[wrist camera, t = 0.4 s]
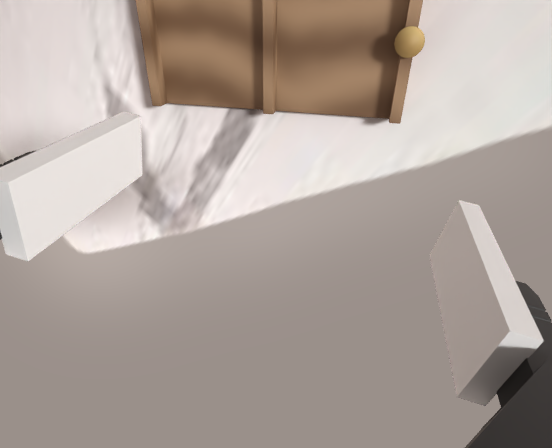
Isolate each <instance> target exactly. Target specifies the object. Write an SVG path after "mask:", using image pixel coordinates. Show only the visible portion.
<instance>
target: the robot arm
mask: <svg viewBox="0 0 552 448" xmlns="http://www.w3.org/2000/svg"><path fill="white" fill-rule="evenodd" d="M140 176H142V141H141V116H139V115H135V114H132V113H128V112H122V113H119V114H117V115H115V116H113V117H111V118H108V119H106V120H104V121H102V122H99V123H97V124H95V125H93V126H91V127H88V128H86V129H84V130H82V131H80V132H77V133H75V134H73V135H71V136H69V137H66V138H64V139H62V140H60V141H57V142H55V143H53V144H51V145H49V146H46V147H44V148H42V149H40V150H37V151H32V152H28V153H25V154H23V155H21V156H19V157H16V158H14V160H10V161H7V162H5V163H4V164H3V165H2V164H1V165H0V239H2V242H3V246H4V249H5V252H6V254H7V255H10V256H13V257H16V258H19V259H23V260H25V261H29V260H30V259H32V258H33V257H34V256H36V255H37V254H38V253H40V252H41V251H42V250H44V249H45V248H46V247H48V246H49V245H50V244H52V243H53V242H54V241H56V240H57V239H58V238H60V237H61V236H62V235H64V234H65V233H66V232H68V231H69V230H70V229H72V228H73V227H74V226H76V225H77V224H78V223H79V222H81V221H82V220H83V219H85V218H86V217H87V216H89V215H90V214H91V213H93V212H94V211H95V210H97V209H98V208H99V207H101V206H102V205H103V204H105V203H106V202H107V201H109V200H110V199H111V198H113V197H114V196H115V195H117V194H118V193H119V192H120V191H122V190H123V189H124V188H126V187H127V186H128V185H130V184H131V183H132V182H134V181H135V180H136V179H138V178H139V177H140ZM430 261H431V267H432V272H433V276H434V282H435V287H436V292H437V298H438V302H439V308H440V313H441V318H442V323H443V328H444V333H445V339H446V344H447V348H448V354H449V359H450V364H451V369H452V374H453V380H454V385H455V390H456V395H457V397H458V398H461V399H464V400H468V401H471V402H474V403H477V404H480V405H484V406H486V405H487V404H488V402H490V400H491V399H492V398H493V397H494V396H495V395H496V394H497V395H498V398H499V402H500V405H501V408H500V410H499V411H498V412H497V413H496V414H495V415H494V416H493V417H492V418H491V419H490V420H489V421H488V422H487V423H486V424H485V425H484V426H483V428H482V429H481V430H480V431H479V433H478V434H477V435H476V436H475V437H474V438H473V439H472V440H471V441H470V443H469V444H468V445H467V446H466V447H465V448H552V323H551V319H550V317H549V315H548V313H547V312H545V310H546V309H545V307H544V306H543V304H542V302H541V300H540V298H539V297H538V295H537V294H536V293H535V292H534V291H533V290H532V289H531V288H530V287H529V286H528V285H527V284H525V283H521V282H518V281H515V279H514V277H513V276H512V273H511V271H510V269H509V267H508V265H507V263H506V261H505V259H504V257H503V254H502V252H501V250H500V248H499V246H498V244H497V242H496V240H495V238H494V236H493V234H492V231H491V229H490V227H489V225H488V223H487V221H486V219H485V217H484V215H483V213H482V211H481V209H480V207H479V205H476V204H472V203H468V202H464V201H461V200H458V202H457V204H456V206H455V208H454V210H453V212H452V214H451V215H450V217H449V219H448V221H447V223H446V225H445V227H444V229H443V231H442V233H441V235H440V236H439V238H438V240H437V242H436V244H435V246H434V248H433V250H432V252H431V253H430Z"/></svg>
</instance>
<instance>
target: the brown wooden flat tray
mask: <svg viewBox="0 0 552 448" xmlns="http://www.w3.org/2000/svg"><path fill="white" fill-rule="evenodd" d="M422 3H423V0H136V6H137V12H138V18H139V24H140V30H141V37H142V43H143V49H144V55H145V62H146V68H147V74H148V80H149V87H150V93H151V99H152V105H153V106H162V105H164V104H166V103H176V104H190V105H204V106H218V107H232V108H247V109H261V110H263V114H274V113H275V111H289V112H303V113H317V114H331V115H346V116H360V117H374V118H388V119H389V123H400V122H401V116H402V111H403V105H404V100H405V94H406V89H407V84H408V78H409V73H410V67H411V62H412V57H414V56H416V55H417V54H418V53H419V52H420V51H421V50H422V48H423V46H424V42H425V37H424V34H423V32H422V31H421V30H420V29H419V28H418V24H419V19H420V13H421V8H422Z"/></svg>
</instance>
